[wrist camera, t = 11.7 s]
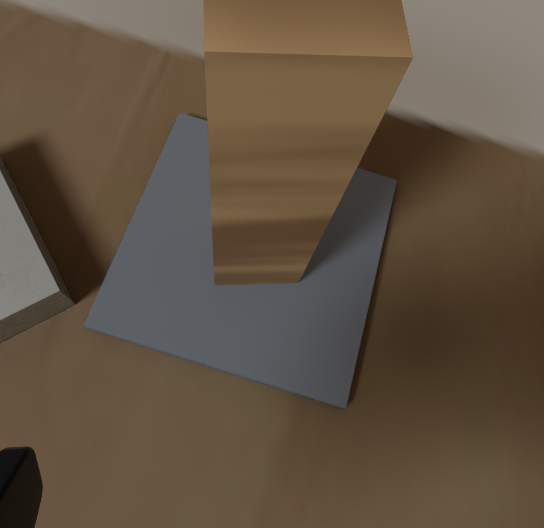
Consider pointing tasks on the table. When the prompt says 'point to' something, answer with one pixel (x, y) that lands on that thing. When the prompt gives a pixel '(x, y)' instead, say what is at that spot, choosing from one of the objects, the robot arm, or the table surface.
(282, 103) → the tall wooden block
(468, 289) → the table surface
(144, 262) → the grey square plate
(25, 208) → the white square ring
